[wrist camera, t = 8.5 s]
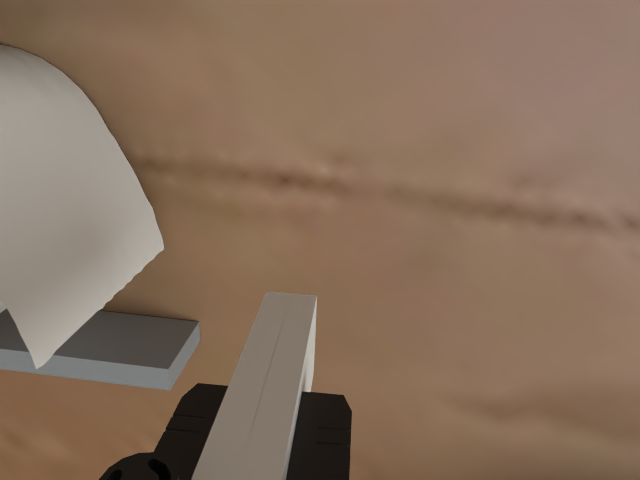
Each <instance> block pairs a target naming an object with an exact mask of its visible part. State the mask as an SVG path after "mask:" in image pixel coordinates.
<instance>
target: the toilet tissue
mask: <svg viewBox="0 0 640 480" xmlns="http://www.w3.org/2000/svg"><path fill="white" fill-rule="evenodd" d="M163 249H164V244H163V240H162V236H161V233H160V231H159V228H158V225H157V222H156V219H155V215H154V211H153V208H152V206H151V205H150V203H149V201H148V200H147V198H146V196H145V194H144V192H143V190H142V187H141V185H140V183H139V181H138V179H137V177H136V175H135V173H134V171H133V169H132V167H131V166H130V164H129V162H128V161H127V159H126V157H125V156H124V154H123V152H122V151H121V149H120V147H119V145H118V143H117V142H116V140H115V138H114V137H113V136H112V134H111V133H110V132H109V130H108V128H107V127H106V125H105V123H104V121H103V119H102V118H101V116H100V114H99V112H98V110H97V109H96V108H95V106H94V105H93V104H92V103H91V101H90V100H89V99H88V97H87V96H86V95H85V94H84V92H83V91H82V90H81V89H80V88H79V87H78V86H77V85H76V84H75V83H74V82H73V81H71V80H70V79H69V78H68V77H67V76H66V75H65V74H64V73H63V72H61V71H60V70H58V69H57V68H55V67H54V66H52V65H51V64H49V63H48V62H46V61H45V60H43V59H42V58H40V57H37V56H35V55H33V54H30V53H28V52H26V51H23V50H21V49H19V48H14V47H10V46H6V45H2V44H0V313H1V312H3V311H4V310H5V309H8V311H9V313H10V314H11V316H12V318H13V320H14V322H15V323H16V326H17V328H18V330H19V333H20V335H21V337H22V339H23V341H24V342H25V344H26V346H27V348H28V350H29V352H30V354H31V356H32V359H33V362H34V365H35V367H36V369H38V368H39V367H41V366H43V365H44V364H45V363H46V362H47V361H48V360H49V359H50V358H51V357H52V355H53V354H54V352H55V351H56V350H57V349H58V348H59V347H60V346H61V345H62V344H63V343H64V342H66V341H67V340H68V339H69V338H70V337H71V336H72V335H73V334H74V333H75V332H76V331H77V330H78V329H79V328H80V327H81V326H82V325H83V324H84V323H85V322H87V321H88V320H89V319H90V318H91V317H92V316H93V315H94V314H95V313H96V312H97V311H98V310H100V309H102V308H103V307H104V306H105V304H106V303H107V302H108V301H110V300H112V298H113V297H114V295H115V294H116V293H117V292H118V291H119V290H121V289H123V288H124V287H125V285H126V284H127V283H128V282H130V281H131V280H132V279H133V277H134V276H135V275H136V274H137V273H139V272H141V271H142V269H143V267H144V266H145V265H146V264H147V263H149V262H150V261H151V260H153V259H154V258H155V256H156V255H157V254H158V253H159V252H161V251H163Z"/></svg>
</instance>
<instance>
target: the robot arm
mask: <svg viewBox="0 0 640 480" xmlns="http://www.w3.org/2000/svg"><path fill="white" fill-rule="evenodd" d="M316 304H317V295H305V294H292V293H279V292H266V293H265V296H264V298H263V301H262V303H261V306H260V308H259V311H258V313H257V316H256V318H255V321H254V323H253V326H252V328H251V331H250V333H249V336H248V338H247V341H246V343H245V346H244V348H243V351H242V353H241V356H240V358H239V361H238V363H237V366H236V368H235V371H234V373H233V376H232V378H231V381H230V383H229V386H223V385H212V384H201V383H198V384H196V385H195V386H194V387H193V388H192V389H191V390H190V391H188V392H187V393H186V394H185V395H184V396H183V397H182V398H181V400H180V402H179V404H178V406H177V408H176V410H175V412H174V414H173V418H172V417H171V419H170V421H169V423H168V425H167V427H166V431H165V432H164V433H163V435H162V437H161V439H160V441H159V443H158V445H157V446H156V448H155V450H154V452H151V453H138V454H135V455H132V456H129V457H126V458H123V459H121V460H120V461H118V462H117V463H115V464H114V465H112V466H111V467H109V468H108V469H107V471H106V472H105V473H104V474H103V475H102V476H101V478H100V479H99V480H349V469H350V444H351V418H352V411H351V409H350V407H349V405H348V403H347V401H346V399H345V397H344V395H337V394H326V393H315V392H311V386H312V379H313V373H314V352H315V328H316Z"/></svg>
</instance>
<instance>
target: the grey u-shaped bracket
mask: <svg viewBox="0 0 640 480" xmlns="http://www.w3.org/2000/svg"><path fill="white" fill-rule="evenodd" d="M199 342H200V328H199V322H196V321H187V320H179V319H170V318H161V317H152V316H143V315H134V314H126V313H117V312H108V311H99V310H98V311H97V312H96V313H95V314H94V315H93V316H92V317H91V318H90V319H89V320H88V321H87V322H85V323H84V324H83V325H82V326H81V327H80V328H79V329H78V330H77V331H76V332H75V333H74V334H73V335H72V336H71V337H70V338H69V339H68V340H67V341H66V342H64V343H63V344H62V345H61V346H60V347H59V348H58V349H57V350H56V351H55V352H54V354H53V355H52V357H51V358H50V359H49V360H48V361H47V362H46V363H45V364H44V365H43V366H41V367H39V368H38V369H36V367H35V365H34V362H33V359H32V356H31V354H30V352H29V350H28V348H27V346H26V344H25V342H24V341H23V339H22V337H21V335H20V333H19V330H18V328H17V326H16V323H15V322H14V320H13V318H12V316H11V314H10V313H9V311H8V309H5V310H4V311H3V312H1V313H0V369H5V370H12V371H20V372H28V373H36V374H44V375H52V376H60V377H68V378H75V379H83V380H91V381H99V382H107V383H115V384H123V385H131V386H138V387H146V388H154V389H162V390H171V388H172V387H173V385H174V383H175V382H176V380H177V378H178V377H179V375H180V373H181V372H182V370H183V368H184V367H185V365H186V363H187V362H188V360H189V359H190V357H191V355H192V354H193V352H194V350H195V349H196V347H197V345H198V344H199Z"/></svg>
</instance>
